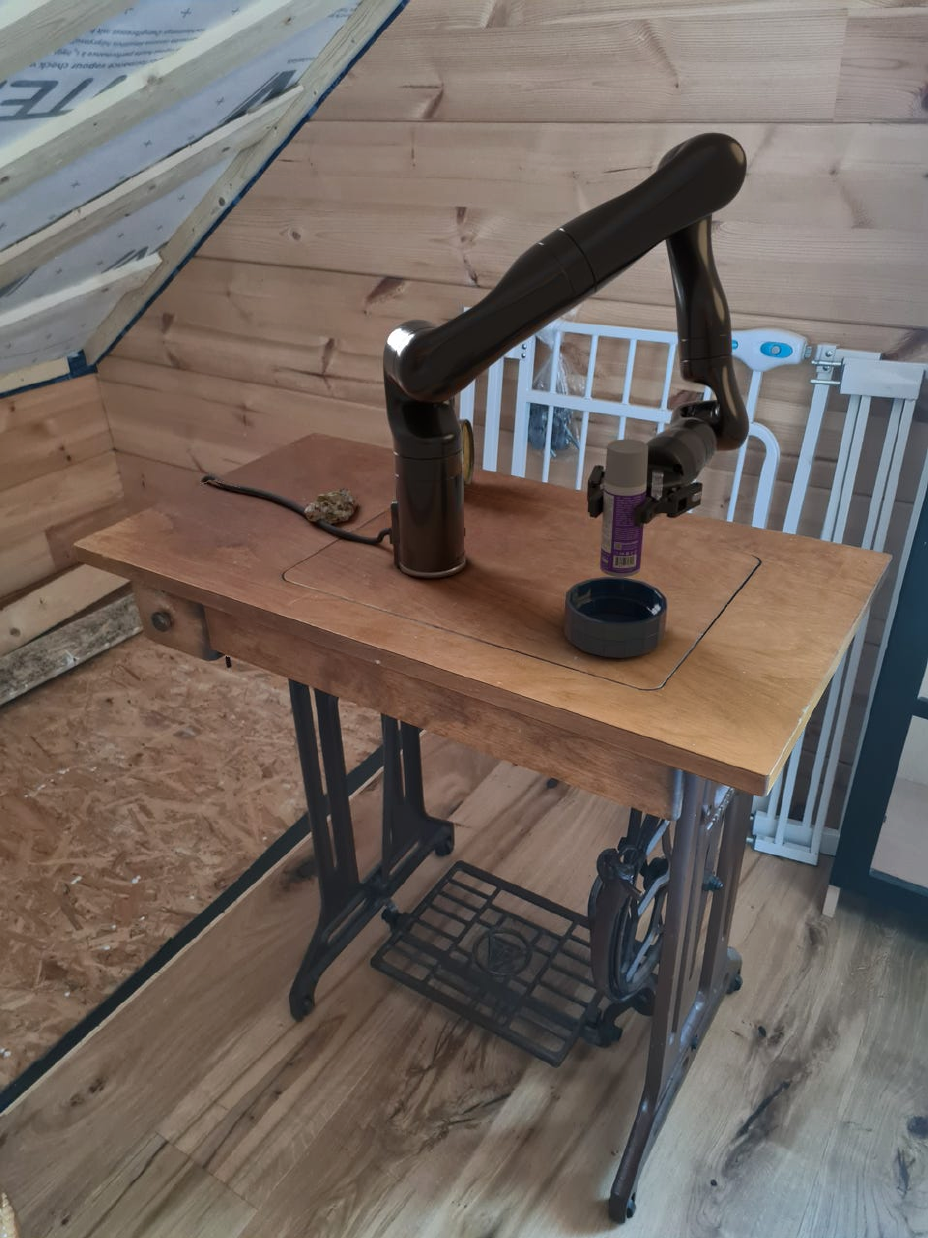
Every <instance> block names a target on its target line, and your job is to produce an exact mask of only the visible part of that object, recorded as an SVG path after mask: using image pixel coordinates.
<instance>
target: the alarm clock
mask: <svg viewBox="0 0 928 1238" xmlns="http://www.w3.org/2000/svg"><path fill="white" fill-rule="evenodd" d="M453 404H454V408H455V407H456V406H455V405H456V396H454V397H453ZM455 409H456V408H455ZM458 421H459V423H460V426H461V429H462V448H463V487H468V486H470V485H471V483H472V480H473V475H474V468H475V467H474V466H475V438H474V437H475V436H474V431H473V427H472V423H471V420H469V419H468V418H458Z"/></svg>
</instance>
